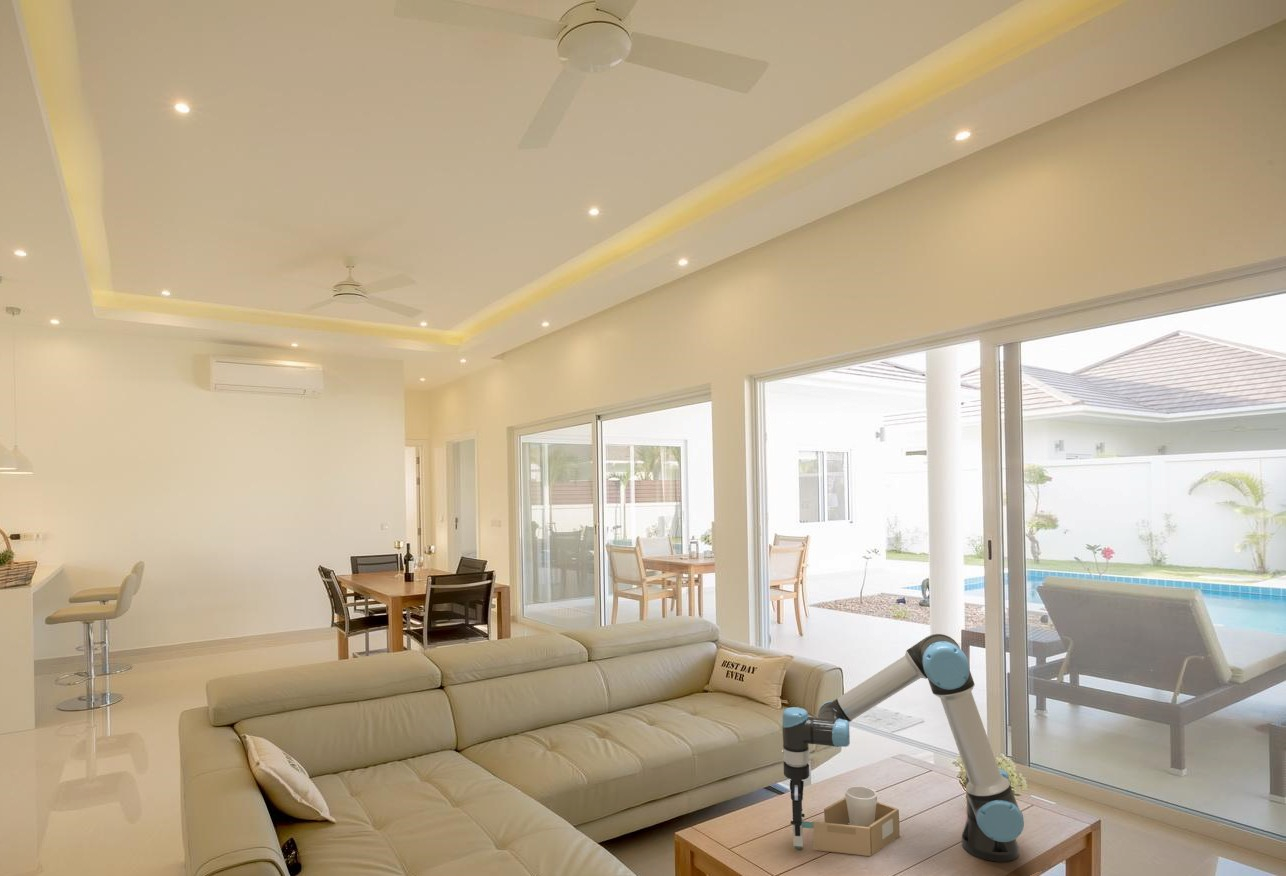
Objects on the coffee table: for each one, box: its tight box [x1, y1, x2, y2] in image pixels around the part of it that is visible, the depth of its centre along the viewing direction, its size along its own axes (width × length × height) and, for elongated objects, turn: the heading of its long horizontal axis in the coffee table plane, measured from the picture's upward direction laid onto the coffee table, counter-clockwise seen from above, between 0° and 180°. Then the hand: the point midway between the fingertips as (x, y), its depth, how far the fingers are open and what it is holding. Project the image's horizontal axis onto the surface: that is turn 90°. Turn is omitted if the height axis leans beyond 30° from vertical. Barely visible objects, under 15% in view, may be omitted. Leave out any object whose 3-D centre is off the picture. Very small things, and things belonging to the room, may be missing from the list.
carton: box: [823, 797, 901, 856], centre depth 223 cm, size 16×16×8 cm
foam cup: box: [844, 785, 878, 827], centre depth 223 cm, size 10×9×13 cm
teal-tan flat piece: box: [793, 809, 872, 857], centre depth 214 cm, size 22×2×11 cm, turn 75°
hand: (798, 842), depth 216 cm, fingers open, 2 cm apart
